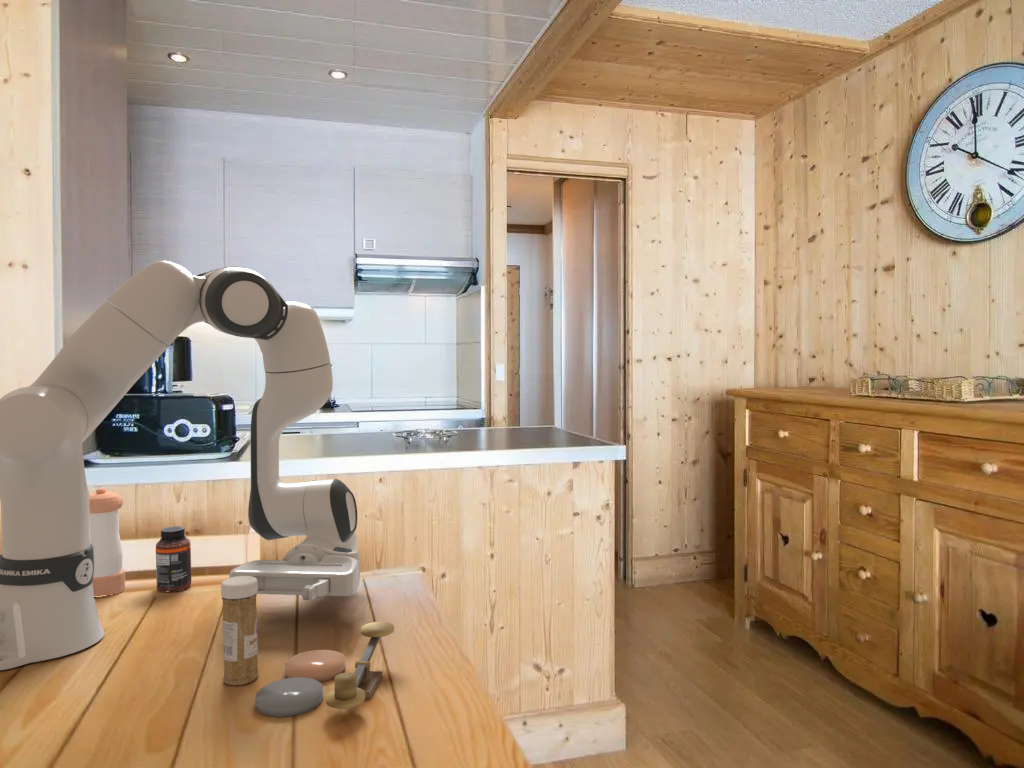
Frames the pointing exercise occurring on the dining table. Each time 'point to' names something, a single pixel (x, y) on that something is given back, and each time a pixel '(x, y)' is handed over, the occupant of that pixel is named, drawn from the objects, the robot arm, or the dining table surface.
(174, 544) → the supplement bottle
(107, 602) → the dining table surface
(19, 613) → the robot arm
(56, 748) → the dining table surface
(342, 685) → the balance
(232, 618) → the spice jar
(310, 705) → the grey oval pebble
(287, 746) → the dining table surface
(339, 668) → the peach oval pebble
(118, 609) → the dining table surface
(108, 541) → the pepper shaker
